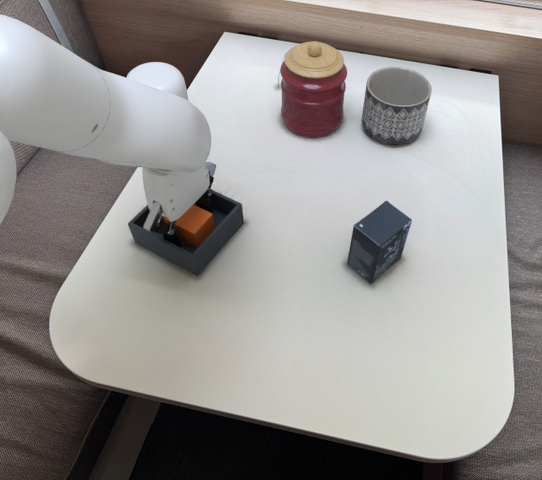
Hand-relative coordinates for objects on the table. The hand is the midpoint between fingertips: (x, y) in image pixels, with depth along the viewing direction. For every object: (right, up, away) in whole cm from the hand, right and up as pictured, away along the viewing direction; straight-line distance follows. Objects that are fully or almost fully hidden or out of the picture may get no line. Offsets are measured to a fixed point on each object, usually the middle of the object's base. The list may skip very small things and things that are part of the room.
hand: (189, 225), depth 88 cm
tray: (0, -1, +2) cm, 2 cm away
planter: (+37, +21, +21) cm, 48 cm away
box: (+31, -6, 0) cm, 32 cm away
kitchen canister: (+20, +23, +22) cm, 38 cm away
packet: (0, -1, +1) cm, 1 cm away
